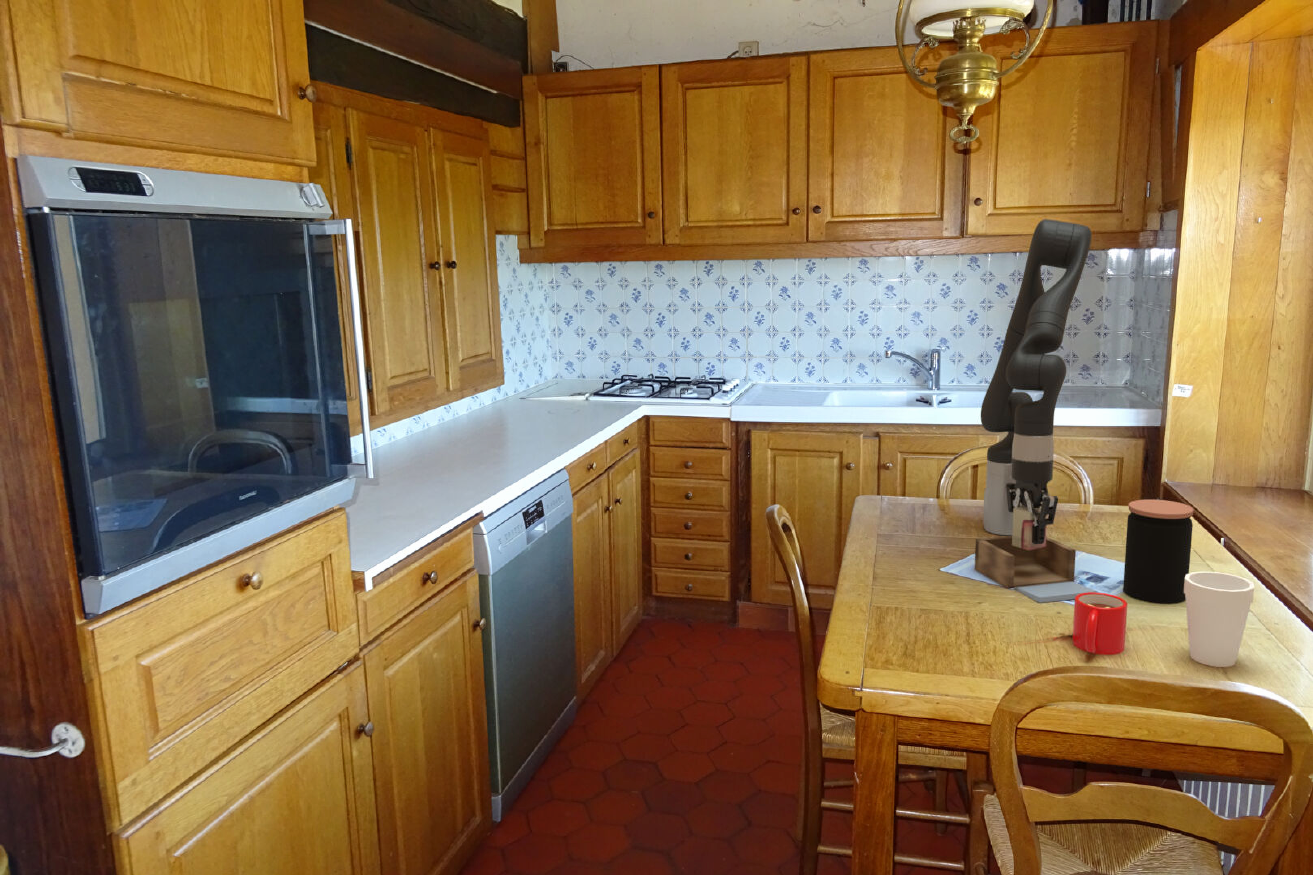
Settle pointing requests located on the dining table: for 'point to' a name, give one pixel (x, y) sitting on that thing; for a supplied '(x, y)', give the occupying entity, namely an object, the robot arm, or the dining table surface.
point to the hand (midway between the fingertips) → (1029, 539)
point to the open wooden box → (1024, 562)
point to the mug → (1099, 623)
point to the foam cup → (1216, 615)
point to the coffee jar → (1157, 551)
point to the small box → (1024, 529)
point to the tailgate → (1053, 591)
